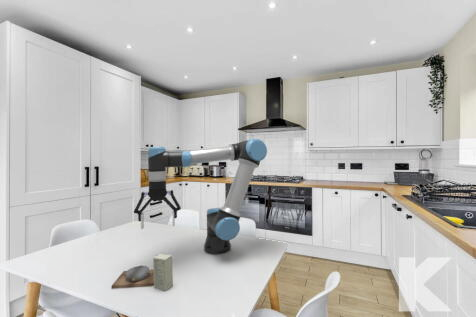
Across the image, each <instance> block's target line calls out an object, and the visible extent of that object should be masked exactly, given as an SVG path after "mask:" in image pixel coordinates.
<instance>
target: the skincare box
mask: <svg viewBox="0 0 476 317" xmlns="http://www.w3.org/2000/svg"><path fill="white" fill-rule="evenodd" d="M152 258H153V259H152V264H153V269H154V286H153V288H154V289H156V290H157V289H158V290H162V291H167V290H169V289H170V288H171V287H172V286H173V285H174V281H173V280H174V278H173V274H174V273H173V255H172V254H165V253H159V254H157V255H155V256H154V257H152Z"/></svg>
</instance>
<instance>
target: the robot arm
mask: <svg viewBox="0 0 476 317" xmlns="http://www.w3.org/2000/svg"><path fill="white" fill-rule="evenodd" d="M267 154H268V149H267V145H266V143H265V142H264V141H263V140H261V139H260V138H251V139H248V140H242V141H240V142H237V143H236V142H235V143H231V144H228V146H220V147H218V146H217V147H212V148H203V149H195V150H194V149H193V150H183V151H182V150H181V151H179V150H178V151H175V150H173V151H167V150H166V148H165V147H164V146H152V147H149V148H148V151H147V161H148V162H147V163H148V165H147V166H148V181H149V182H148V191H147V192H146V191H142V192H141V194H140V198H139V200H138V202H137V205H135V208H134V210H133V213H134V214H137V215H138V218H137V219H138V220H137V221H138V222H140V230H143V229H144V228H145V219H144V218H145V217H144V214H145V213H144V212H143V211H144V210H145V209H146V208H147V207H148V205H150V203H151V202H161V201H163V202H165V203H166V204H167V206H168V207H170V208H171V209H172V212H171V213H172V227H175V222H176V221H175V220H176V219H177V217H178V211H181V205H180V204H179V202H178V200H177V198H176V197H175V195H174V190H173V189H171V190H167V181H166V179H167V176H166V175H167V174H166V173H167V172H166V171H167V170H166V169H167V168H188V167H191V166H192V165H198V164H204V163H210V162H211V163H212V162H220V161H226V160H230V161H233V162H234V161H238V164H239V165H238V166H237V169H236V173H235V174H234V178H233V179H232V183H231V185H230V188H229V191H228V194H227V195H226V199H225V202H224V204H223V206H221V207H213V208H208V209H207V210H206V238H205V242H204V244H203V251H204V252H205V253H206V254H210V255H220V254H226V253H228V252H230V251H231V248H232V245H231V242H230V241H231V240H233V239H235V238H236V237H237V236H238V235H239V233H240V229H241V226H240V223H239V222H240V220H241V212H240V210H241V207H242V205H243V202H244V199H245V196H246V194H247V192H248V191H247V190H248V189H249V186H250V182H251V181H252V177H253V174H254V171H255V169H257V168H259V167H260V164H261V161H263V160H265V158H266V156H267ZM167 195H169V196H170V197H171V199H172V201H173V203H174V204H175V205H174V204H173V203H172V202H171V201H170V200H169V199H168V197H167ZM147 196H148V197H149V198H148V200H147V201H146V202H145V204H144V205H143V206H142V207H141V204H142V203H143V201H144V199H145V197H147ZM140 207H141V208H140ZM139 208H140V210H139Z"/></svg>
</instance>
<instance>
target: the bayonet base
mask: <svg viewBox="0 0 476 317" xmlns="http://www.w3.org/2000/svg"><path fill="white" fill-rule="evenodd" d="M144 287H154V268H152V269H151V268H149V266H146V265H137V266H133V267H130V268H129V269H127V270H123V272H121V274H120V275H119V276H118V277H117V278H116V280H114V282H113V283H112V285H111V290H113V289H115V290H116V289H129V288H144Z"/></svg>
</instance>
